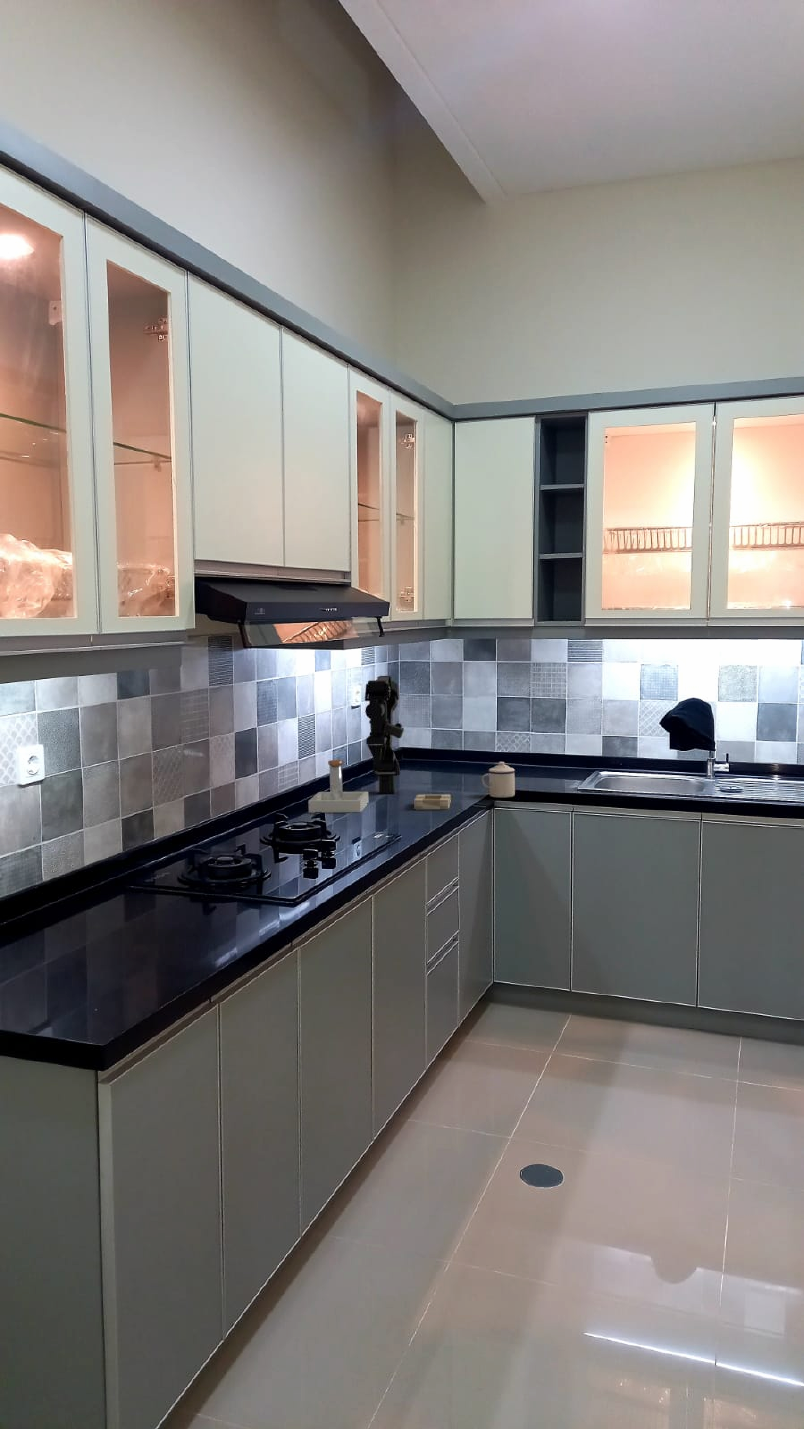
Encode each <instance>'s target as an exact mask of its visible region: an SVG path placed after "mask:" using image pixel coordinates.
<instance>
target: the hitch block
mask: <svg viewBox="0 0 804 1429" xmlns="http://www.w3.org/2000/svg"><path fill="white" fill-rule="evenodd" d="M413 801H414V802H413V804H414V806H413V807H414V808H413V809H416V811H417V810H449V808H450V807H451V806H450V805H451V804H450V803H451V794H449V793H444V794H439V793H438V794H436V793H435V794H426V793H425V794H417V795H416V796H415V798H414V800H413Z"/></svg>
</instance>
